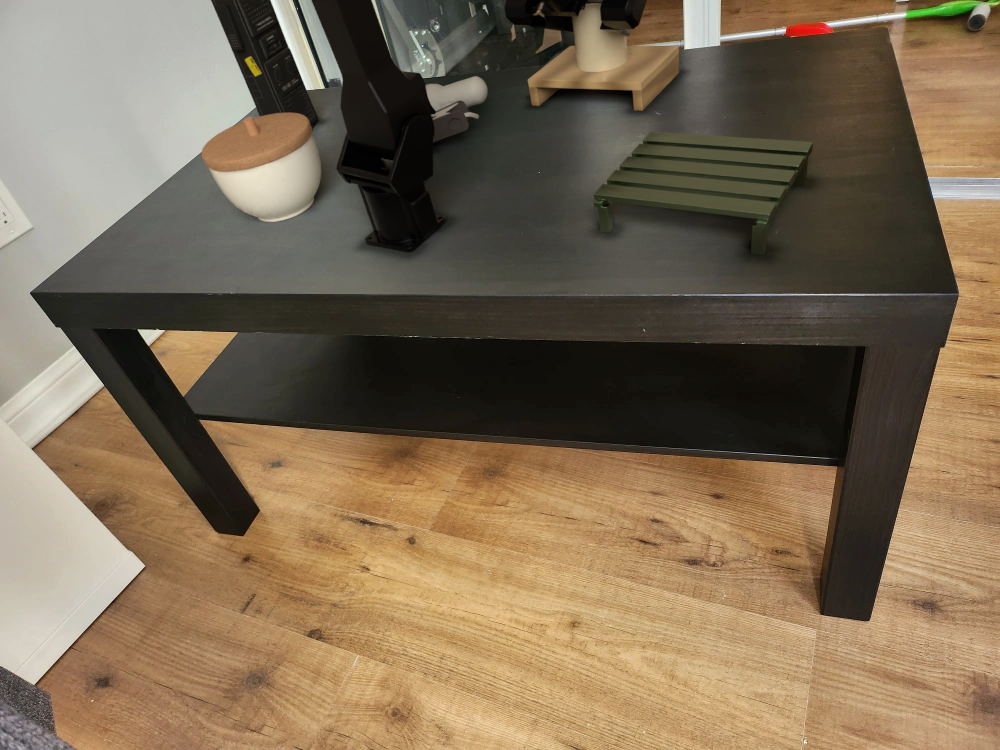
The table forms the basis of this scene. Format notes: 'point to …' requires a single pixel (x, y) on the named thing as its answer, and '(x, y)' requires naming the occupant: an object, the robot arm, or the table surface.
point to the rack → (708, 177)
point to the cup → (597, 42)
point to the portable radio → (264, 57)
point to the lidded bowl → (267, 165)
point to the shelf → (610, 75)
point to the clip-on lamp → (455, 105)
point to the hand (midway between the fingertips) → (606, 31)
